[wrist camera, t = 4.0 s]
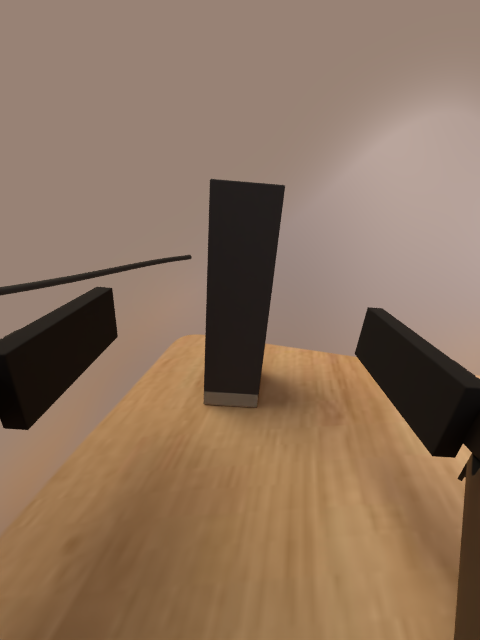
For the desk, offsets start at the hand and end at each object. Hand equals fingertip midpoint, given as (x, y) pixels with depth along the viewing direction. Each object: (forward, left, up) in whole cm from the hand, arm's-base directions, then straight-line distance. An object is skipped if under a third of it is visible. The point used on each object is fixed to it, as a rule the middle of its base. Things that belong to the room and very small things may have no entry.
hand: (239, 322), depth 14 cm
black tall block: (-5, -2, -8) cm, 10 cm away
